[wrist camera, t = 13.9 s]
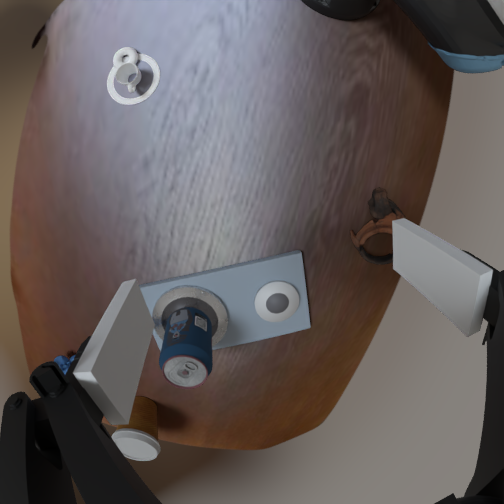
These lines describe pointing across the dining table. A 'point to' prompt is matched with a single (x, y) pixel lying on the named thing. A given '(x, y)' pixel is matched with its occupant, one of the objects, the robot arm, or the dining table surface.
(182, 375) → the soda can
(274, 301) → the flange board
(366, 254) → the pottery mug
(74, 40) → the dining table surface
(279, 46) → the dining table surface
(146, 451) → the disposable coffee cup
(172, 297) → the wide flange
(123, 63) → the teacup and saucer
